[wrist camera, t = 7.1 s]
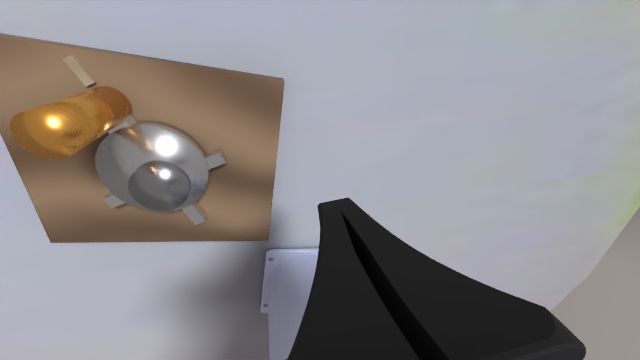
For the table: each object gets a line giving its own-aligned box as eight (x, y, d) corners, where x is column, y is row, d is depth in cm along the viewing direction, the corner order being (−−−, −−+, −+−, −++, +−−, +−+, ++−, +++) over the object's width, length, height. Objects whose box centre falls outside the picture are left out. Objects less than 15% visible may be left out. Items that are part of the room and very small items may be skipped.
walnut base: (267, 231, 22) (268, 242, 21) (62, 230, 18) (48, 244, 17) (282, 78, 16) (284, 82, 15) (-22, 29, 12) (-52, 29, 11)
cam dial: (251, 197, 19) (248, 245, 14) (153, 236, 19) (122, 296, 14) (165, 59, 13) (120, 72, 9) (27, 114, 13) (-82, 153, 9)
